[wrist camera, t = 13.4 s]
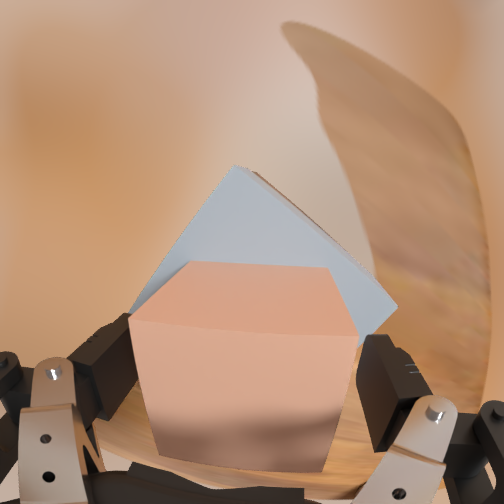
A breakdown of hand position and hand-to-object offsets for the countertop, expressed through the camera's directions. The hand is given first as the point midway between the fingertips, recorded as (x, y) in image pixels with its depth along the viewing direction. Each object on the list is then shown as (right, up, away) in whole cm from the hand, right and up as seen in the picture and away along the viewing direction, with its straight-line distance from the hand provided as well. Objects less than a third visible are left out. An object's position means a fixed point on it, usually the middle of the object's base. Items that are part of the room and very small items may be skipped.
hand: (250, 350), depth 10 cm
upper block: (+1, +2, +7) cm, 7 cm away
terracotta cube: (0, 0, +2) cm, 2 cm away
